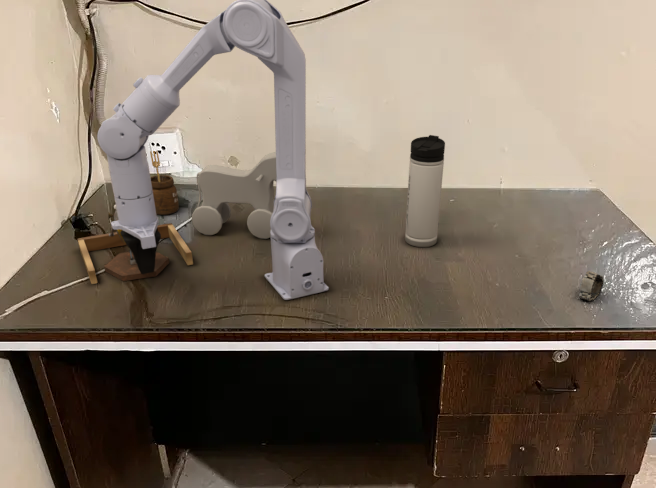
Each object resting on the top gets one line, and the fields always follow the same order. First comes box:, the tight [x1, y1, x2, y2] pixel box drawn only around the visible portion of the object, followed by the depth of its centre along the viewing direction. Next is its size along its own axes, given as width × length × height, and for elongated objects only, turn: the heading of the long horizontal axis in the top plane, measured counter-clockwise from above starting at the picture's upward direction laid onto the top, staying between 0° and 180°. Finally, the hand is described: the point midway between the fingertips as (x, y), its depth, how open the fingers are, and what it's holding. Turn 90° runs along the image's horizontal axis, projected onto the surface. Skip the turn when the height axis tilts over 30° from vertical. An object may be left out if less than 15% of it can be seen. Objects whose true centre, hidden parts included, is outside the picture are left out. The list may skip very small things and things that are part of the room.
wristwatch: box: [578, 270, 604, 302], centre depth 103 cm, size 3×5×5 cm
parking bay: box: [76, 222, 194, 285], centre depth 112 cm, size 14×17×2 cm
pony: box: [191, 151, 276, 240], centre depth 120 cm, size 20×10×17 cm, turn 84°
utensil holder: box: [149, 150, 180, 216], centre depth 129 cm, size 6×6×12 cm
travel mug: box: [404, 134, 446, 248], centre depth 117 cm, size 6×7×20 cm
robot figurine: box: [103, 204, 170, 282], centre depth 106 cm, size 11×9×12 cm
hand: (147, 271), depth 103 cm, fingers closed
